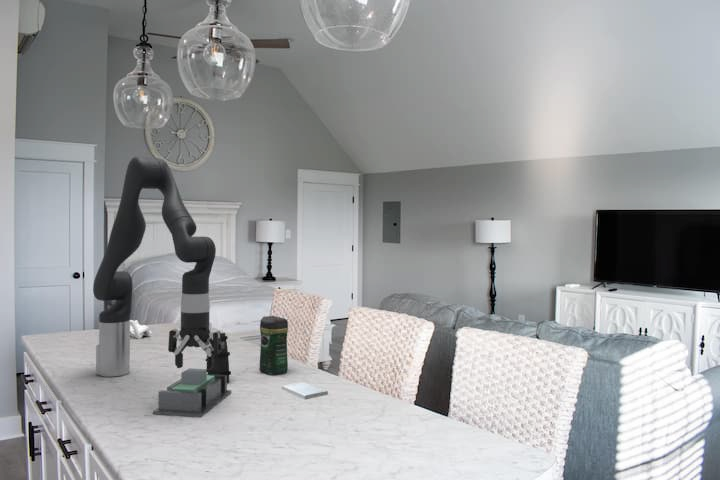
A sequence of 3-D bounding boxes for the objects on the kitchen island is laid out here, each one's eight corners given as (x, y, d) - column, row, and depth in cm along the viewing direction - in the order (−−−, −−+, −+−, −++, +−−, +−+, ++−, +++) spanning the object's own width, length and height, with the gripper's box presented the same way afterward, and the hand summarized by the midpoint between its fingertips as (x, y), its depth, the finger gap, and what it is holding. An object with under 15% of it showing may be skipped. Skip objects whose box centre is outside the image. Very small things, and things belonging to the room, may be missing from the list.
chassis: (200, 417, 141) (201, 395, 141) (152, 414, 143) (152, 392, 143) (231, 393, 162) (231, 374, 162) (189, 390, 163) (189, 372, 163)
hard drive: (328, 390, 162) (304, 381, 171) (304, 395, 157) (281, 385, 166) (328, 396, 162) (304, 386, 171) (304, 401, 157) (281, 390, 166)
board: (193, 397, 145) (193, 378, 145) (171, 396, 146) (171, 377, 145) (214, 382, 159) (214, 365, 158) (194, 381, 159) (194, 364, 159)
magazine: (223, 381, 167) (215, 333, 172) (208, 390, 177) (201, 345, 182) (234, 379, 170) (226, 332, 175) (219, 388, 179) (212, 343, 184)
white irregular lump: (129, 339, 245) (119, 318, 242) (142, 331, 250) (132, 311, 246) (142, 343, 237) (132, 321, 234) (154, 335, 241) (145, 314, 238)
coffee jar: (291, 372, 185) (292, 317, 185) (271, 376, 180) (272, 319, 180) (275, 367, 192) (275, 313, 192) (255, 370, 187) (256, 315, 187)
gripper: (164, 310, 149) (163, 370, 149) (214, 312, 147) (213, 373, 147) (177, 306, 156) (176, 363, 157) (225, 308, 154) (224, 366, 155)
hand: (194, 368), depth 152 cm, fingers open, 8 cm apart
